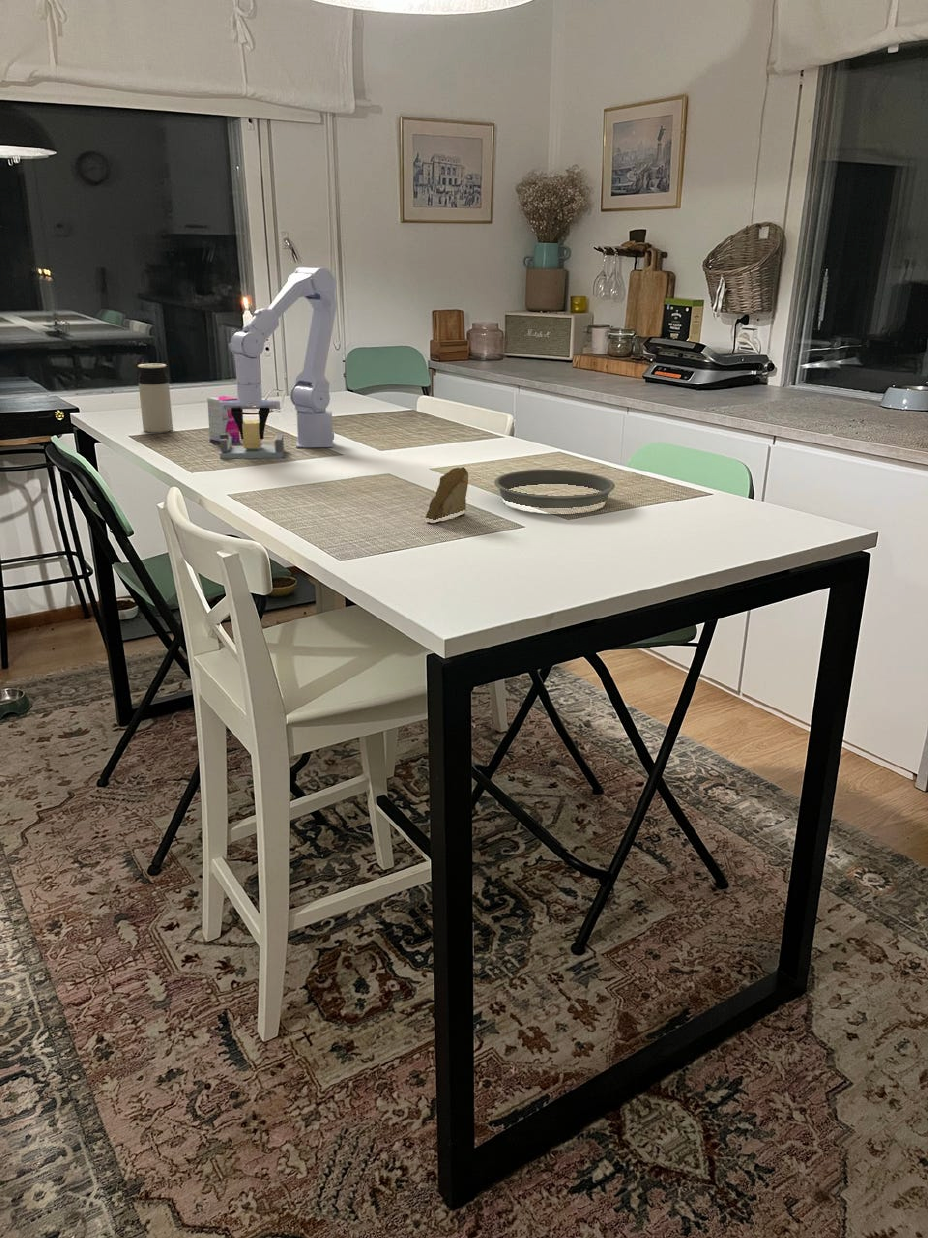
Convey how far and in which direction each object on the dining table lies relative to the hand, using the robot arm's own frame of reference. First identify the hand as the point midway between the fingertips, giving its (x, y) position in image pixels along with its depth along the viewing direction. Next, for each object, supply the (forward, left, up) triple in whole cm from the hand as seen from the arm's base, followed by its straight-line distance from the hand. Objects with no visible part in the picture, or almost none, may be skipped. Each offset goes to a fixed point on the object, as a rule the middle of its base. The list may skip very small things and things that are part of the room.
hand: (252, 438), depth 238 cm
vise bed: (0, 0, -4) cm, 4 cm away
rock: (-40, +66, -4) cm, 77 cm away
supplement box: (+9, -18, -4) cm, 20 cm away
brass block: (0, 0, -2) cm, 2 cm away
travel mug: (+29, -36, -4) cm, 46 cm away
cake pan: (-64, +55, -4) cm, 85 cm away
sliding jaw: (+7, 0, -2) cm, 7 cm away
